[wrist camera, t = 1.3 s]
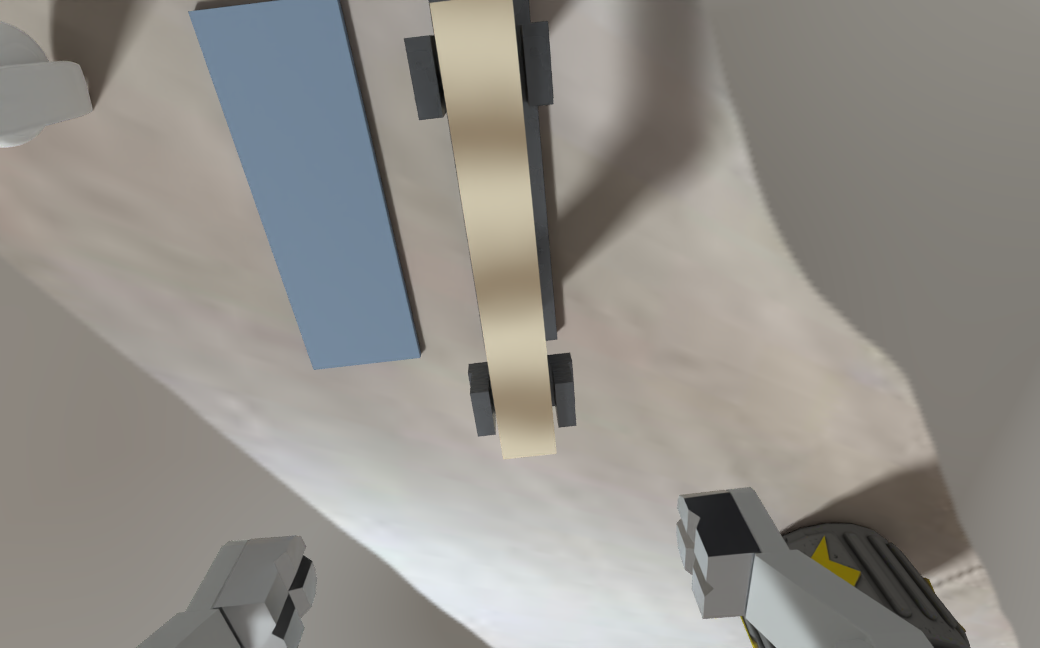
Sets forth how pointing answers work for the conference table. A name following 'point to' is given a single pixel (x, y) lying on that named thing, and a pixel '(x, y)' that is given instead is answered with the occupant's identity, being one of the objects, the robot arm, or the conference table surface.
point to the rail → (498, 212)
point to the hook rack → (534, 94)
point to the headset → (35, 88)
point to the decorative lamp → (874, 579)
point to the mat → (312, 173)
